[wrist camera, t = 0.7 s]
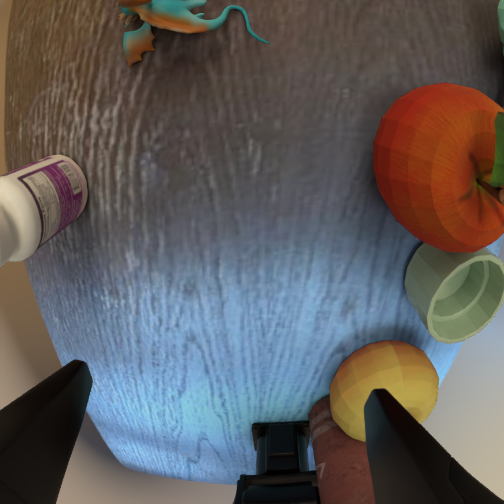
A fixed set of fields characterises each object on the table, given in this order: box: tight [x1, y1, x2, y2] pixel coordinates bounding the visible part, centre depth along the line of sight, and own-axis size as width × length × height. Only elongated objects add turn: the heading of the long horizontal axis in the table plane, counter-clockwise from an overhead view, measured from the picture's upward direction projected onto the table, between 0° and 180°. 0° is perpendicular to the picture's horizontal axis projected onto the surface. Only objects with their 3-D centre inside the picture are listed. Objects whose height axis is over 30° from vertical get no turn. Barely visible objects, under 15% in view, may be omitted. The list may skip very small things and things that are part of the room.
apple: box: [330, 340, 439, 442], centre depth 23 cm, size 10×10×8 cm
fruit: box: [373, 83, 504, 252], centre depth 14 cm, size 10×10×10 cm
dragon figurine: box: [116, 0, 270, 67], centre depth 14 cm, size 6×7×8 cm
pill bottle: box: [0, 155, 88, 267], centre depth 16 cm, size 5×5×10 cm
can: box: [308, 395, 375, 504], centre depth 24 cm, size 6×6×14 cm
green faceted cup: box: [404, 243, 504, 344], centre depth 20 cm, size 7×7×5 cm
